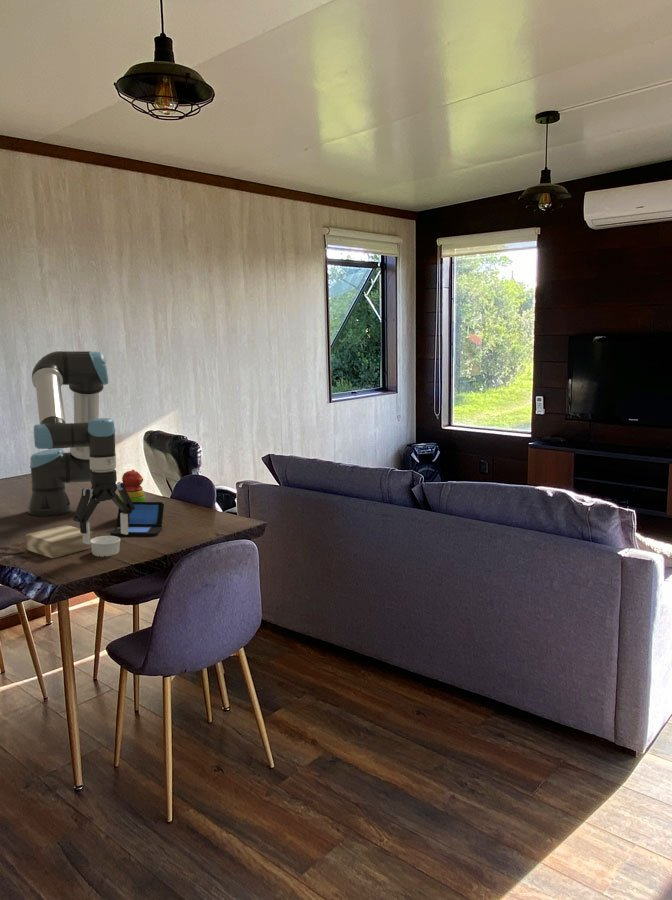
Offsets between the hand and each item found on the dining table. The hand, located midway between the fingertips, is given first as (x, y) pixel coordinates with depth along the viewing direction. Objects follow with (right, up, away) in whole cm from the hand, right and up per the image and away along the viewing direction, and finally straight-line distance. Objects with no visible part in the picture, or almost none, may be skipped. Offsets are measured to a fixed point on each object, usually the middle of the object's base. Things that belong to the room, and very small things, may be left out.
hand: (106, 538), depth 210 cm
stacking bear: (-4, +2, +43) cm, 43 cm away
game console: (+2, -1, +26) cm, 26 cm away
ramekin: (0, -5, +1) cm, 5 cm away
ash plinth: (-16, -4, +5) cm, 17 cm away
